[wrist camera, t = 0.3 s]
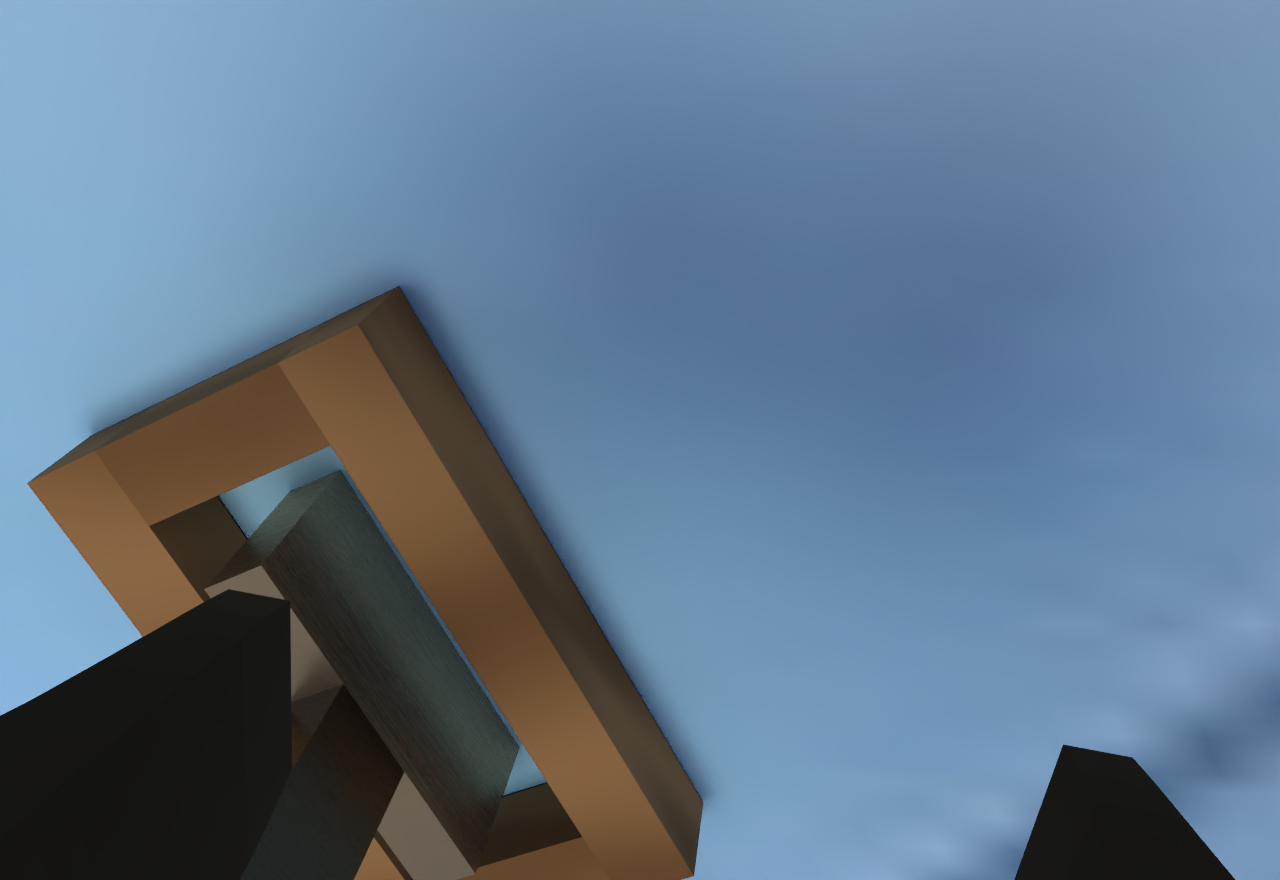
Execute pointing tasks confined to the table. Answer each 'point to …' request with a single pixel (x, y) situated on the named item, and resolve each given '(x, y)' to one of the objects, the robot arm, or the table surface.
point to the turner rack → (434, 551)
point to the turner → (368, 703)
